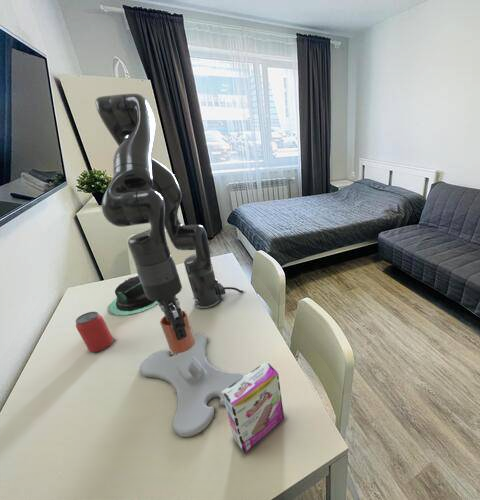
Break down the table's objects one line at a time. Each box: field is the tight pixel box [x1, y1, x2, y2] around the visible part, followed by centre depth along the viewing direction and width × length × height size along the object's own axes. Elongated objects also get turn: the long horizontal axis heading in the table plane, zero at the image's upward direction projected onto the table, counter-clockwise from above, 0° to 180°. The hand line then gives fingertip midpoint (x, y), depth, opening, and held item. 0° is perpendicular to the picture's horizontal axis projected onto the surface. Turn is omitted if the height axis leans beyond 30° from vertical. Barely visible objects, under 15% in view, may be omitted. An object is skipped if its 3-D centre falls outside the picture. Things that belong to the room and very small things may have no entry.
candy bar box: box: [222, 361, 285, 454], centre depth 61 cm, size 11×5×16 cm, turn 136°
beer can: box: [75, 311, 114, 353], centre depth 87 cm, size 7×7×12 cm
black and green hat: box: [109, 275, 158, 316], centre depth 113 cm, size 15×19×20 cm
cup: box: [159, 310, 195, 354], centre depth 70 cm, size 6×6×9 cm
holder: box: [139, 332, 245, 438], centre depth 77 cm, size 19×34×5 cm, turn 49°
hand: (178, 331), depth 70 cm, fingers closed on cup, 6 cm apart
